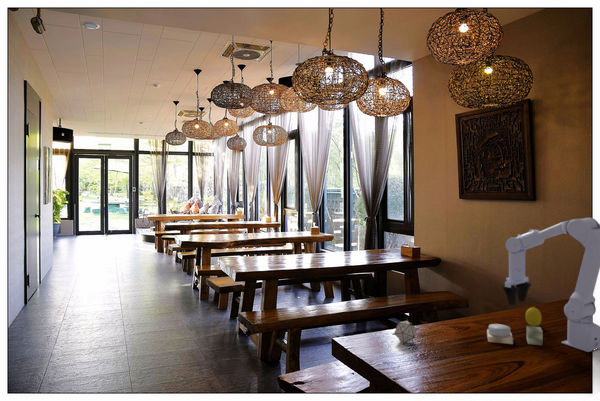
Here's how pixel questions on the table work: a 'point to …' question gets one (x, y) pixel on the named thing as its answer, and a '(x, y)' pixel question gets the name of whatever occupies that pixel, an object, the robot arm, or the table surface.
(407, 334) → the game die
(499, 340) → the birch slab
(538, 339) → the sage cube
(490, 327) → the grey puck
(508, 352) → the table surface
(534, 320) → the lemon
